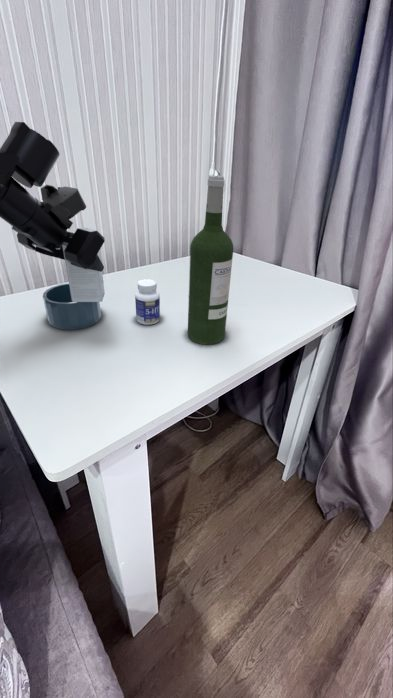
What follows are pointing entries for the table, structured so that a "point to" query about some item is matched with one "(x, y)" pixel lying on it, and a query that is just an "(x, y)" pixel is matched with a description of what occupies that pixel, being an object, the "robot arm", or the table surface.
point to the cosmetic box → (85, 283)
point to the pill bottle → (147, 302)
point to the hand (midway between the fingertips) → (90, 265)
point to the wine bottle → (210, 272)
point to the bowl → (69, 309)
